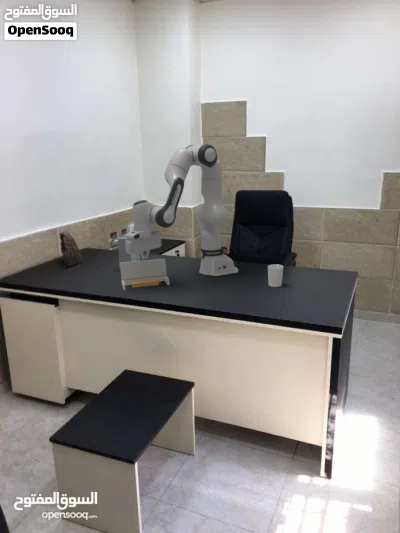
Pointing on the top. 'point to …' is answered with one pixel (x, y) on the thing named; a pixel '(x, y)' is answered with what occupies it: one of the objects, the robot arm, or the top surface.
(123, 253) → the hard drive box
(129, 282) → the duct
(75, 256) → the owl
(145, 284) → the wooden block
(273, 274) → the white cup
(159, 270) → the panel
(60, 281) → the top surface
